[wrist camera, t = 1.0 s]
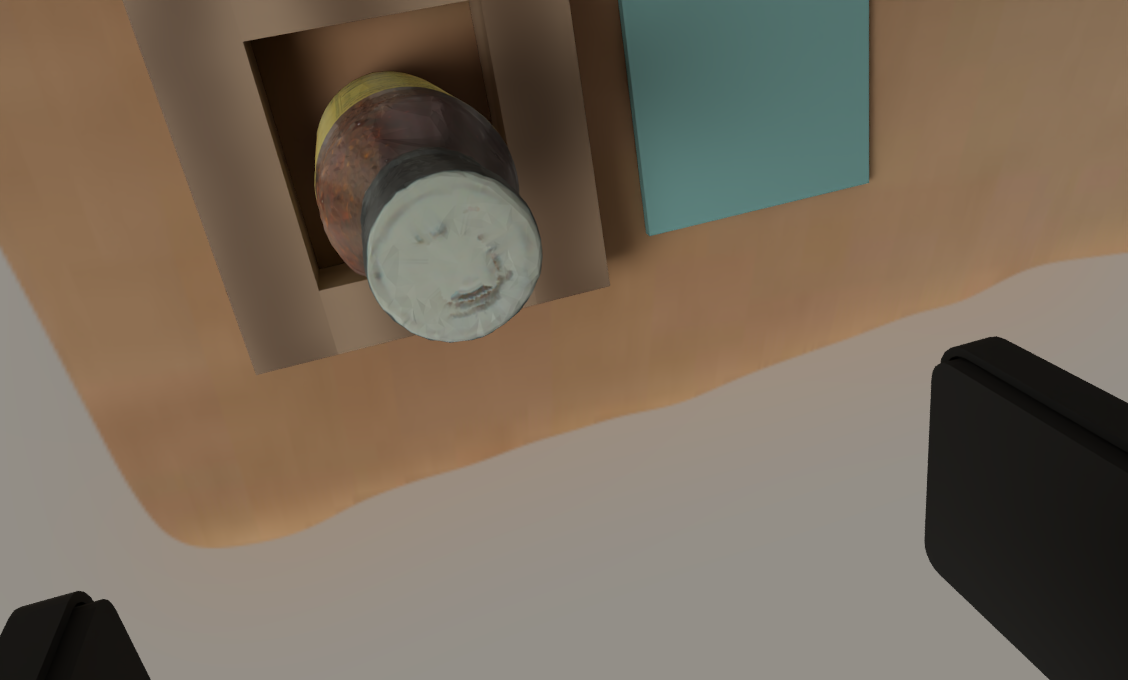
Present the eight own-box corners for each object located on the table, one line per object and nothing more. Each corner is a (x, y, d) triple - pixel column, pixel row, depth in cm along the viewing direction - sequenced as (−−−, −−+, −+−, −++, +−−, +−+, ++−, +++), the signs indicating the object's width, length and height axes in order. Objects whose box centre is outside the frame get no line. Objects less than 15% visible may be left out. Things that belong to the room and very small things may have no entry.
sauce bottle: (450, 220, 38) (561, 422, 21) (308, 201, 36) (298, 406, 19) (473, 74, 36) (619, 159, 19) (323, 45, 34) (327, 111, 17)
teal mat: (862, -76, 38) (868, -76, 38) (863, 180, 43) (868, 182, 43) (614, -30, 36) (618, -30, 36) (646, 233, 41) (649, 236, 41)
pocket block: (535, -97, 34) (554, -103, 32) (591, 266, 41) (610, 286, 38) (129, -29, 32) (111, -31, 29) (260, 347, 38) (256, 374, 36)
